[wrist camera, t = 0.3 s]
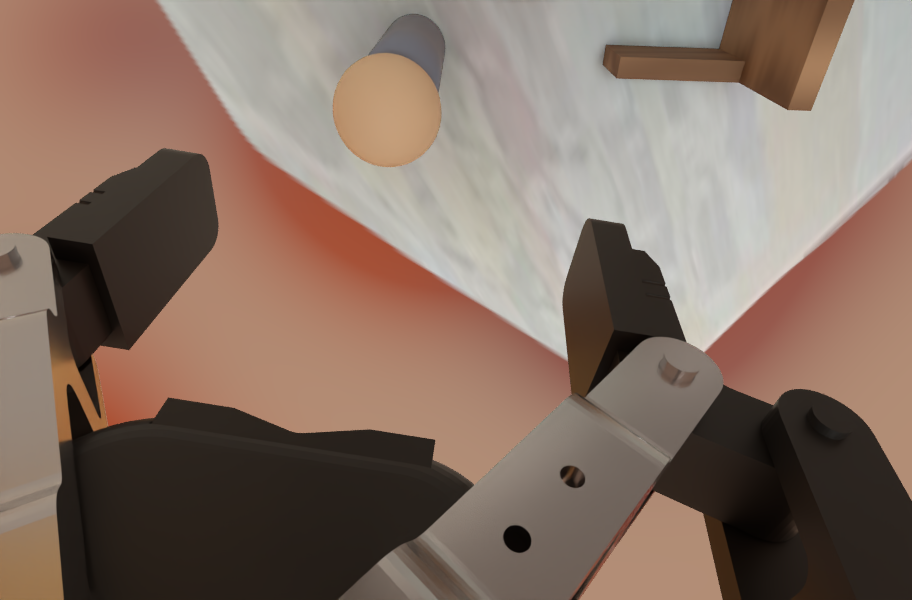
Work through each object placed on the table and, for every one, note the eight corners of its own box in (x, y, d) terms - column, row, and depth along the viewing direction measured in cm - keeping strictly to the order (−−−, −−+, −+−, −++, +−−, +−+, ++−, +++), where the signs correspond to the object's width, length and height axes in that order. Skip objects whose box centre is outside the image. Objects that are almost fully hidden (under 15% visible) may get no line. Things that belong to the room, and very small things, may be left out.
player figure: (377, 7, 34) (315, 63, 20) (450, 10, 34) (440, 67, 20) (381, 83, 37) (328, 181, 23) (448, 86, 37) (438, 185, 23)
